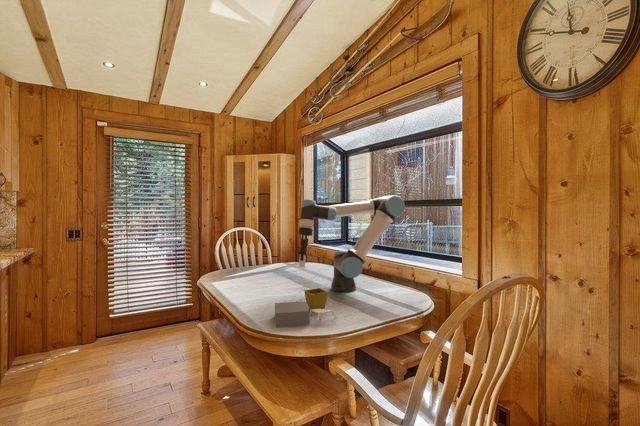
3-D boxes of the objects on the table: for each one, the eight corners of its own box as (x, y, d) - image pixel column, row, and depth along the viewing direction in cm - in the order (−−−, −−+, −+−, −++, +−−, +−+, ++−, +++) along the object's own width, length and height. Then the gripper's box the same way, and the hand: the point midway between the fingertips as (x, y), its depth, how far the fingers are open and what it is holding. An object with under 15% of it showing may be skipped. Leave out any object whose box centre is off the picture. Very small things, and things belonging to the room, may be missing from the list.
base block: (305, 314, 146) (305, 301, 145) (309, 325, 132) (308, 311, 132) (274, 316, 143) (274, 303, 143) (275, 327, 129) (275, 313, 129)
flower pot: (311, 313, 146) (311, 294, 146) (304, 308, 154) (303, 290, 154) (328, 310, 151) (328, 291, 150) (319, 305, 158) (319, 287, 158)
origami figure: (309, 326, 131) (309, 314, 131) (308, 319, 139) (308, 308, 139) (337, 325, 132) (337, 313, 132) (335, 318, 140) (335, 307, 140)
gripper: (300, 230, 182) (296, 266, 178) (297, 223, 157) (292, 266, 153) (313, 231, 182) (309, 268, 178) (312, 225, 157) (307, 267, 153)
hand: (301, 267), depth 166 cm, fingers open, 13 cm apart
